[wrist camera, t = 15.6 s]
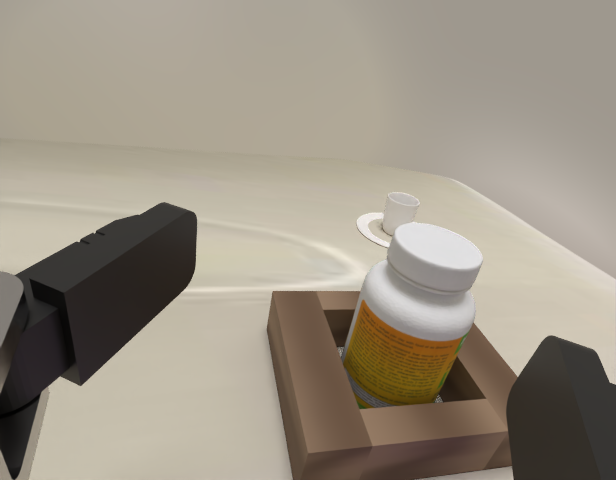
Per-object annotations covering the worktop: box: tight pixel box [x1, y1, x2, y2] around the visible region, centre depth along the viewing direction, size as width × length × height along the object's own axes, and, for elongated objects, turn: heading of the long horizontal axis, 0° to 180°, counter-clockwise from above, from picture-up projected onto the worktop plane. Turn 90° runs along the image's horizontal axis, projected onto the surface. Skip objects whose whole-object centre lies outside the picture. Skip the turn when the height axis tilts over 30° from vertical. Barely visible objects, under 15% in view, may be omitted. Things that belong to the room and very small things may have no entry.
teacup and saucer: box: [356, 192, 420, 248], centre depth 39 cm, size 9×8×4 cm
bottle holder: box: [267, 291, 518, 480], centre depth 22 cm, size 12×10×3 cm
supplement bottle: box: [341, 223, 483, 409], centre depth 20 cm, size 5×5×10 cm
